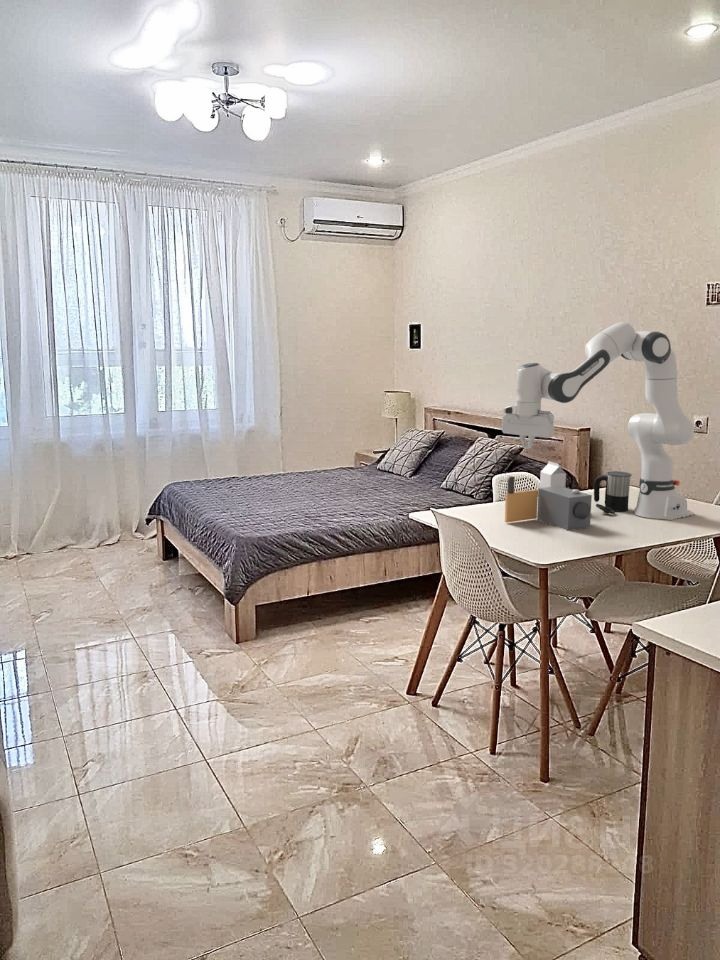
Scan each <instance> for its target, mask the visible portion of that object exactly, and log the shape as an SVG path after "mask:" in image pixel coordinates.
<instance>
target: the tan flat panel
mask: <svg viewBox="0 0 720 960" xmlns="http://www.w3.org/2000/svg"><path fill="white" fill-rule="evenodd" d="M515 478H516V477H515V476H512V475H510V476H509V475H508V476H507V492H506V493H505V508H504V509H505V510H504V522H505V523H514V522H519V521H520V522H521V521H525V520H527V521H528V520H535V519H537V512H538V489H530V490H529V489H527V490H522V491H515Z"/></svg>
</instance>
